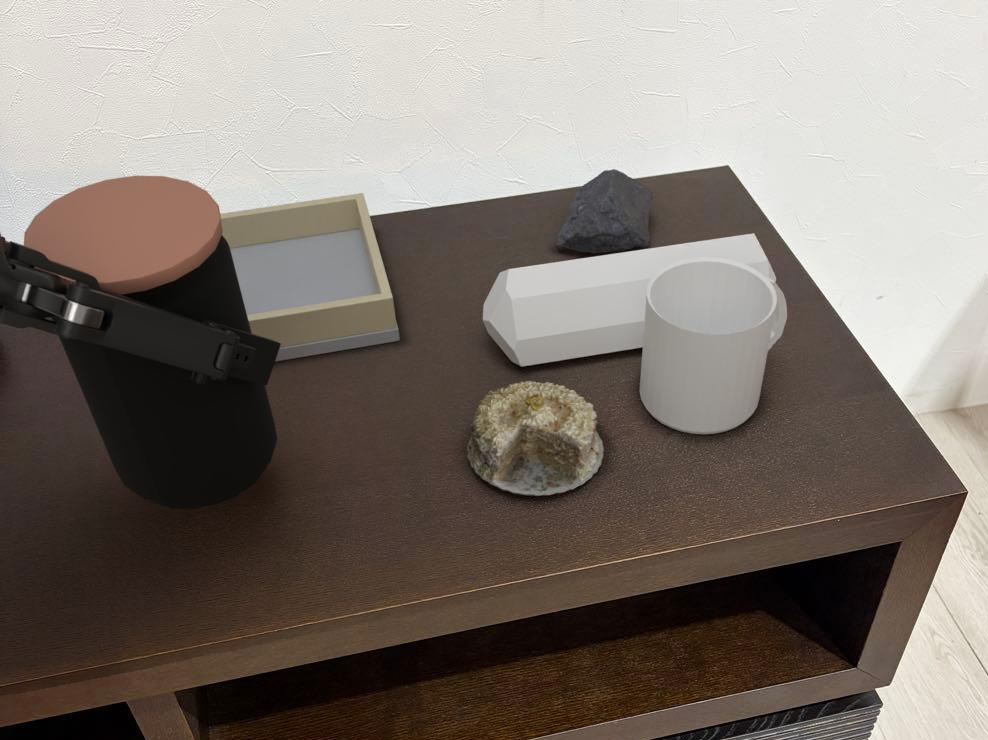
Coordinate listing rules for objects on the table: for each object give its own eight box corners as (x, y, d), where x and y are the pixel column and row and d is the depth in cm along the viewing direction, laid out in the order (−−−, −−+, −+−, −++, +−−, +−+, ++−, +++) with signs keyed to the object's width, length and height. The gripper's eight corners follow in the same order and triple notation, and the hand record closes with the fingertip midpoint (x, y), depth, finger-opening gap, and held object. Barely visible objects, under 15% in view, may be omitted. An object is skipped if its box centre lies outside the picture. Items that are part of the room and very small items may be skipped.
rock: (575, 282, 95) (680, 241, 96) (566, 227, 91) (675, 185, 92) (537, 228, 101) (636, 191, 102) (526, 174, 97) (630, 136, 98)
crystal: (496, 352, 81) (801, 305, 85) (477, 264, 82) (778, 220, 86) (490, 387, 88) (771, 342, 92) (473, 305, 90) (750, 264, 93)
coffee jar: (303, 417, 77) (250, 184, 63) (245, 528, 70) (171, 293, 56) (161, 397, 78) (79, 165, 65) (90, 504, 71) (-18, 270, 58)
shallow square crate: (198, 374, 86) (185, 331, 83) (189, 261, 96) (177, 219, 93) (400, 340, 89) (394, 297, 85) (370, 233, 99) (364, 191, 96)
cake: (455, 424, 83) (450, 365, 79) (583, 404, 84) (584, 345, 80) (481, 510, 76) (477, 449, 72) (621, 486, 77) (623, 425, 73)
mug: (672, 449, 80) (683, 347, 73) (619, 375, 85) (625, 274, 78) (814, 406, 83) (838, 304, 76) (754, 337, 88) (771, 237, 81)
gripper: (-305, 249, 53) (50, 333, 73) (33, 410, 45) (325, 453, 66) (-266, 97, 52) (84, 225, 72) (87, 234, 44) (367, 334, 65)
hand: (199, 333), depth 69 cm, fingers closed on coffee jar, 11 cm apart
